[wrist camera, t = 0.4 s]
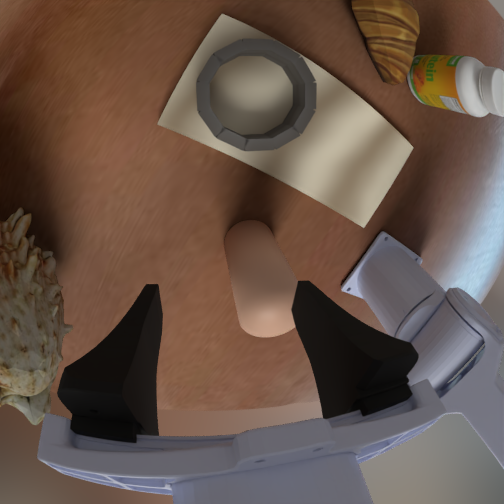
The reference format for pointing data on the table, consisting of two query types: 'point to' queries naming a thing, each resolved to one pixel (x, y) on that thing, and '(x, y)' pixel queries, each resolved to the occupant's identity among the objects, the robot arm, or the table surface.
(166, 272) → the table surface
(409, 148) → the holder board
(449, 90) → the supplement bottle
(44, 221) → the table surface
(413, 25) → the croissant
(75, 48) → the table surface
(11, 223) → the seashell
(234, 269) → the peg
